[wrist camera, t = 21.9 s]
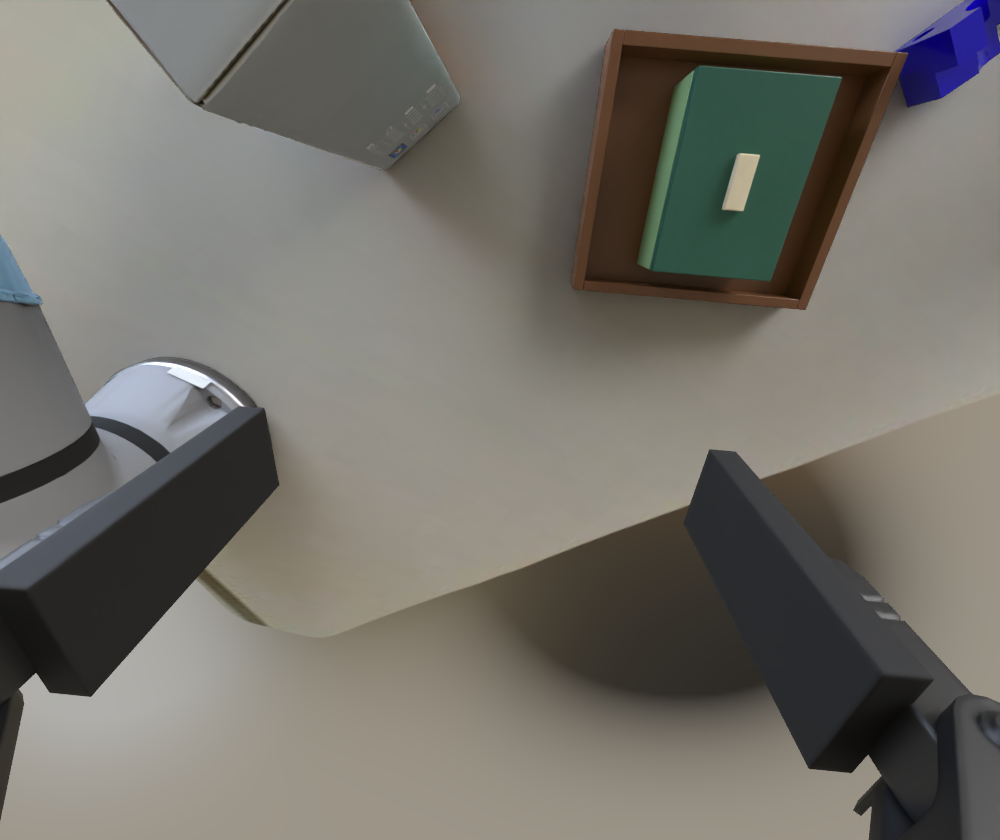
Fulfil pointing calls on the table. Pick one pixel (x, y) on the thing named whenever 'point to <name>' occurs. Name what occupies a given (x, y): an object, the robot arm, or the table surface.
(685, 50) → the tray
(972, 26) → the cable holder
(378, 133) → the hard drive box
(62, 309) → the table surface
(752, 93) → the box
